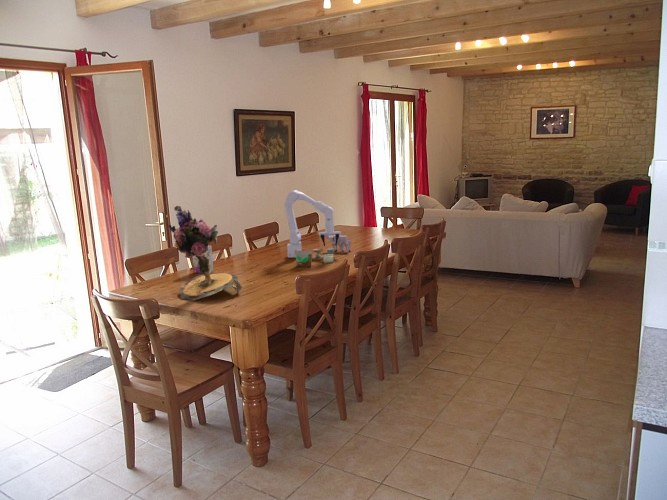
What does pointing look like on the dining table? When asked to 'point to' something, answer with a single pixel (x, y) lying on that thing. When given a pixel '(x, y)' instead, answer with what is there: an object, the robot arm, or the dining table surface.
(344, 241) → the toy sheep
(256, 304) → the dining table surface
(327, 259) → the pale green flanged block
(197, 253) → the bouquet
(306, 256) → the food container
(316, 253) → the tan rounded lump
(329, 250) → the gray metal block
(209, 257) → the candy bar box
